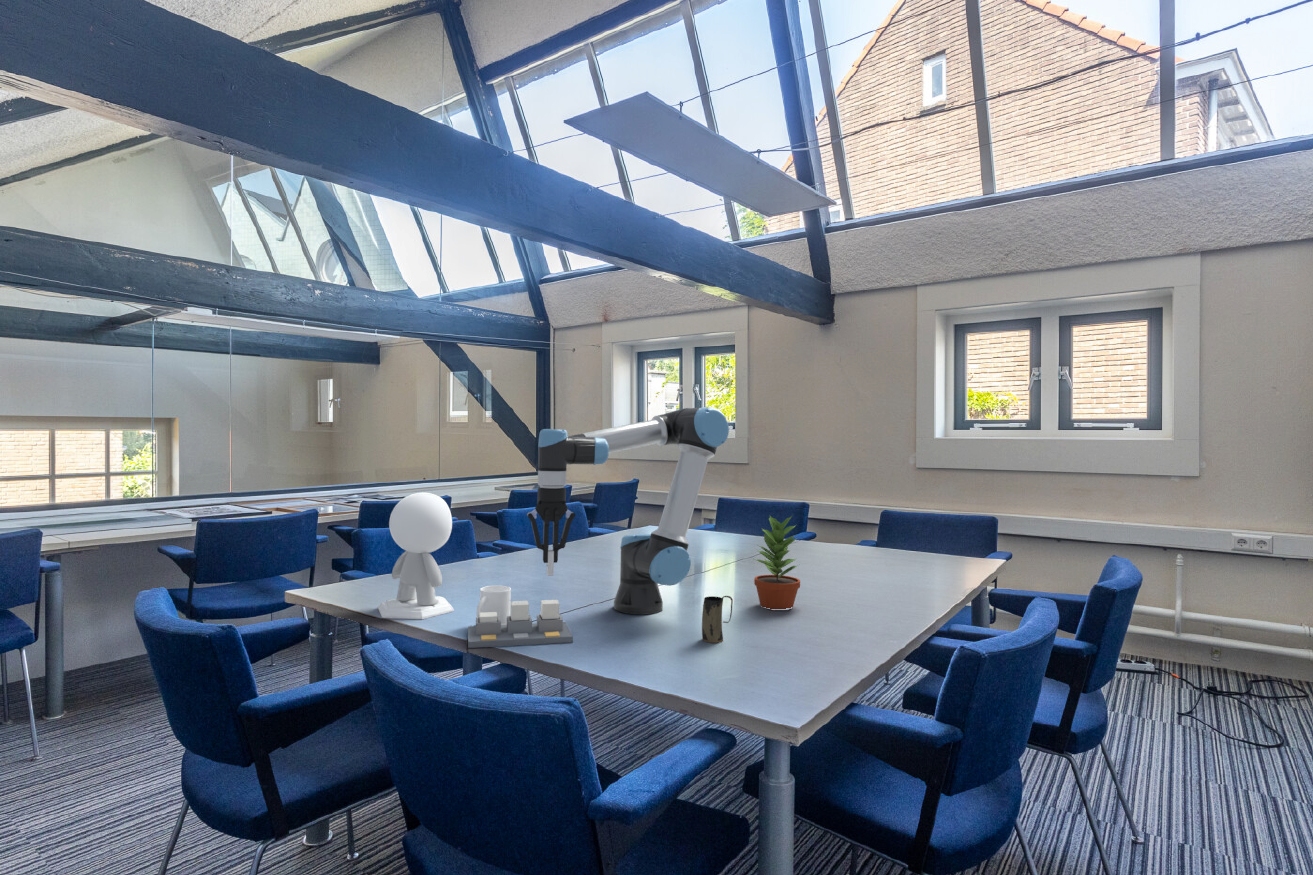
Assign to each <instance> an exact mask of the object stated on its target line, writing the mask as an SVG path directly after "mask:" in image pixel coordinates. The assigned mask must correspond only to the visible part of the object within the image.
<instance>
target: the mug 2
mask: <svg viewBox="0 0 1313 875" xmlns="http://www.w3.org/2000/svg"><path fill="white" fill-rule="evenodd" d="M724 598H729V599H730V601H731V602H730V612H729V613H730V614H729V620H728V621H726V620H725V621H724V620H723V603H724ZM733 602H734V601H733V598H732V596H730V595H723V596H722V597H720V596H705V597H704V598H703V604H702V614H701V615H702V617H701V635H702V636H701V637H702V639H701V640H702V641H703V642H704V641H705V642H704V643H707V642H709V643H708V644H720V643H719V642H721V643H723V642H724V636H723V623H725V624H728V623H729V622H731V619H732V614H733ZM722 641H723V642H722Z"/></svg>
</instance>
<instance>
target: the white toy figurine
mask: <svg viewBox="0 0 1313 875" xmlns="http://www.w3.org/2000/svg"><path fill="white" fill-rule="evenodd" d="M388 526H389V532H390V535H391V537H392V539H393V541H394V542H395V543H396V545H398V547H400V548H401V549H403V550H404V552H402V554H401V555H399V557H398V558H397V560H396V562H395V563H394V565H393V567H392V571H391V577H392V579H393V580H398V579H399V583H398V588H397V595H396V596H397V597H396V598H393V599H388V600H386V601H382V602H380V604H379V605H378V606H377V608H378V612H379V614H380V616H381V618H382V619H401V620H424V619H425V620H427V619H429V618H433V617H438V616H441V615H445V614H448V613H449V614H450V613H453V612H454V611H455V609H454V607H453V606H452V605H451V604H450V602H449V601H448V600H447V599H446V597H443V596H439V595H436V590H435V588H440V587H441V586H443V585H442V584H443V576H442V572H441V570H440V567H439V565H438V564H437V561H436V560H435V558H434V557H433V556H432V554H431V553H432V552H433V553H434V552H435V551H437V550H439V549H441V548H442V547H443V546H444V545H445V544H447V542H448V541H449V539H450V536H451V533H452V530H453V517H452V513H451V509H450V507H449V504H447V502H446V500H445V499H443V498H442V497H441V496H439V495H437V494H435V493H431V492H425V491H424V492H422V491H421V492H415V493H412V494H409V495H407V496H405V497H404V498H402V499H401V500H399V502H398V503H396V504H395V506H394V507H393V509H392V510H391V513H390V517H389V521H388Z"/></svg>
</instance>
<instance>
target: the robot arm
mask: <svg viewBox="0 0 1313 875" xmlns="http://www.w3.org/2000/svg"><path fill="white" fill-rule="evenodd" d="M729 433H730V427H729V422H728V420H727V418H726V415H725V414H724V413H723V412H722V411H720V410H719V409H717V408H714V407H708V406H703V407H684V408H680V409H677V410H673V411H670V412H666V413H663V414H659V415H658V414H657V415H654V416H653V417H652V418H651V419H650V420H645V421H640V422H634V423H629V424H625V425H619V426H614V427H609V428H603V429H598V430H593V431H588V432H583V433H578V434H574V435H573V434H571V435H568V431H567V429H562V428H561V429H555V428H554V429H553V428H543V429H541V430H540V432H539V435H538V445H537V447H538V449H537V450H538V461H537V462H538V463H537V464H538V468H537V469H538V470H537V485H538V486H539V487H538V488H537V499H536V505H535V508H534V509H533V510H532V511H529V512H527V513H526V515H527V517H528V519H529V521H530V524H531V528H532V532H533V533H532V534H533V537H534V541H535V546H536V548H537V549H539V550H542V561H543V563H544V564H546V576H547V577H553V576H554V570H555V569H554V567H555V566H554V564H556V563H558V558H559V550H561V549H565V548H566V543H567V540H568V537H569V532H570V528H571V526H572V522H573V520H574V519H575V518H576V513H575V512H574V511H571V510H569V509H568V505H567V502H566V501H567V488H566V487H565V486H567V465H593V466H596V465H603V464H605V463H606V462H607V461H608V459H609V455H610V454H613V453H618V452H623V451H627V450H632V449H637V448H643V447H647V446H652V445H657V446H660V447H662V446H668V445H677V447H678V449H679V451H680V454H679V457H678V459H677V464H676V467H675V470H674V474H673V478H672V480H671V485H670V487H669V489H668V490H669V491H668V493H667V497H666V501H665V504H664V506H663V507H664V508H663V510H662V511H663V512H662V514H661V517H660V521H659V525H658V528H657V529H655V530H653V531H652V532H651V533H644V534H628V535H624V536H622V537H621V543H620V547H619V548H620V576H619V577H620V579H619V580H620V581H619V585H618V589H617V592H616V593H615V598H614V600H613V609H614V610H615V611H617V612H620V613H622V614H628V615H629V614H630V615H648V614H649V615H650V614H656V613H660V612H661V611H663V608H664V606H663V604H664V602H663V599H662V595H661V592H660V588H659V585H661V586H663V585H664V586H667V587H669V586H675V585H678V584H679V583H681V582H682V581H683V580H684V579H686V578H687V576H688V574H689V572H690V570H691V565H692V564H691V562H692V560H691V558H690V554H689V553H688V550H689V547H690V545H689V544H690V542H689V541H688V539H687V534H688V530H689V527H690V523H691V521H692V517H693V514H694V509H695V506H696V503H697V500H698V496H699V493H700V489H701V485H702V482H703V479H704V475H705V472H706V469H707V465H708V462H709V461H710V459H712V458H714V457H715V455H716V453H717V452H716V451H717V448H718V447H720V446H722V445H723V444H724V443H725V442H726V441H727V439H728V437H729ZM537 514H538V516H539V517H540V519H541V520H542V521H543V523H542V524H543V530H542V534H543V536H542V542H541V538H540V533H539V527H538V524H537V520H536V519H537V517H538V516H537ZM564 515H565V518H566V519H565V522H564V525H563V529H562V533H561V537H560V540H559V534H560V533H559V531H560V530H559V527H560V526H559V525H560V521H561V519H562V518H563V517H564ZM550 522H552V549H549V544H550V543H549V540H550V539H549V538H550V535H549V534H550V530H549V529H550ZM658 584H659V585H658Z"/></svg>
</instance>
